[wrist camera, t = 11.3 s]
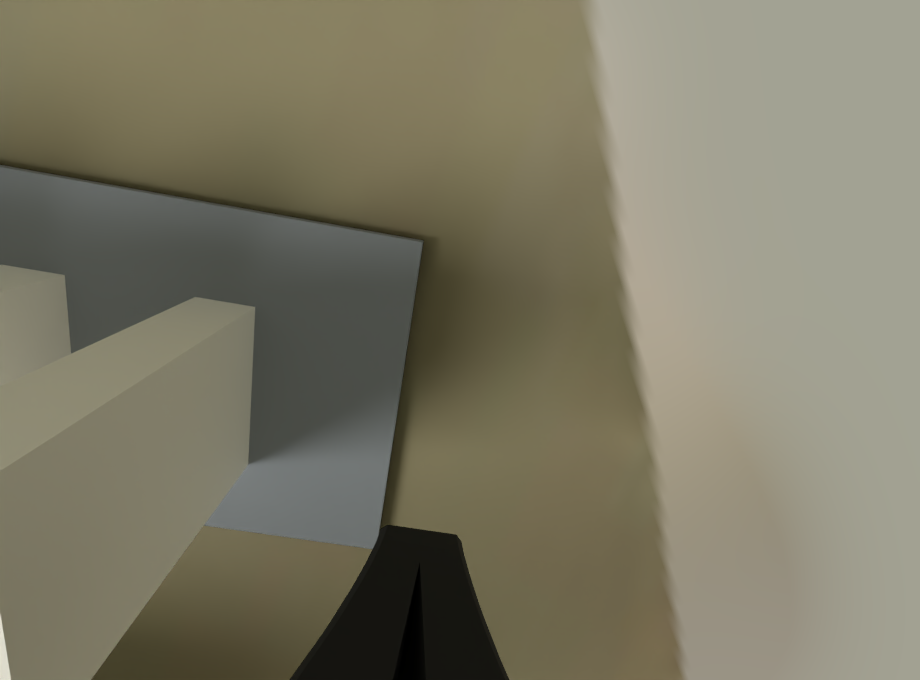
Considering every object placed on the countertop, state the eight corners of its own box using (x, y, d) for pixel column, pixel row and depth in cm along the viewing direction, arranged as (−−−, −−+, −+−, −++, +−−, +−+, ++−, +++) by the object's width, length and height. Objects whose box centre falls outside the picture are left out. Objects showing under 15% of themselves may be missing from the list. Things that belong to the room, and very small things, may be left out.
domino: (248, 464, 15) (25, 769, 7) (194, 456, 15) (-89, 757, 7) (255, 307, 13) (-20, 484, 6) (195, 296, 13) (-169, 462, 6)
